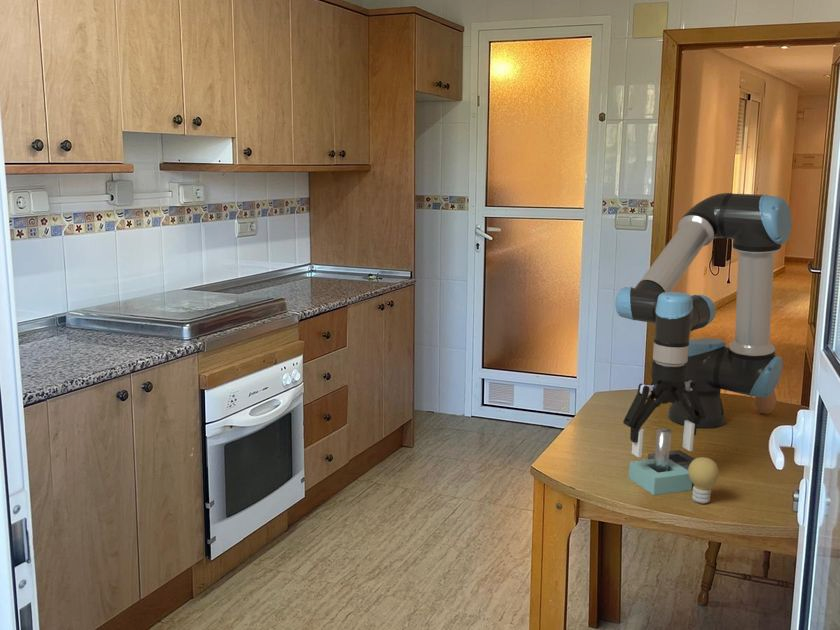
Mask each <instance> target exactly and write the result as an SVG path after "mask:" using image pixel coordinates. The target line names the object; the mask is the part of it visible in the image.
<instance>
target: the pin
mask: <svg viewBox="0 0 840 630" xmlns="http://www.w3.org/2000/svg"><path fill="white" fill-rule="evenodd" d="M655 433H656V434H655V447H654V453H655V456H654V468H653V470H655V471H656V472H658V473H659V472H667V471H668V464H669V452H670V451H671V439H672V429H669V428H666V427H658V428H657V429H656V432H655Z"/></svg>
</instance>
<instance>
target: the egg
mask: <svg viewBox="0 0 840 630" xmlns="http://www.w3.org/2000/svg"><path fill="white" fill-rule="evenodd" d="M754 397H755V398H754V405H755V408H756V410H757V411H758V412H759V413H760V414H763V415H768V414H770V413H772V411H774V410H775V409H776V405H777V395H776V392H775V390H774V391H773V392H772V394H771V395H769V396H768V397H765V398H762V397H756V396H754Z"/></svg>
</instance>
